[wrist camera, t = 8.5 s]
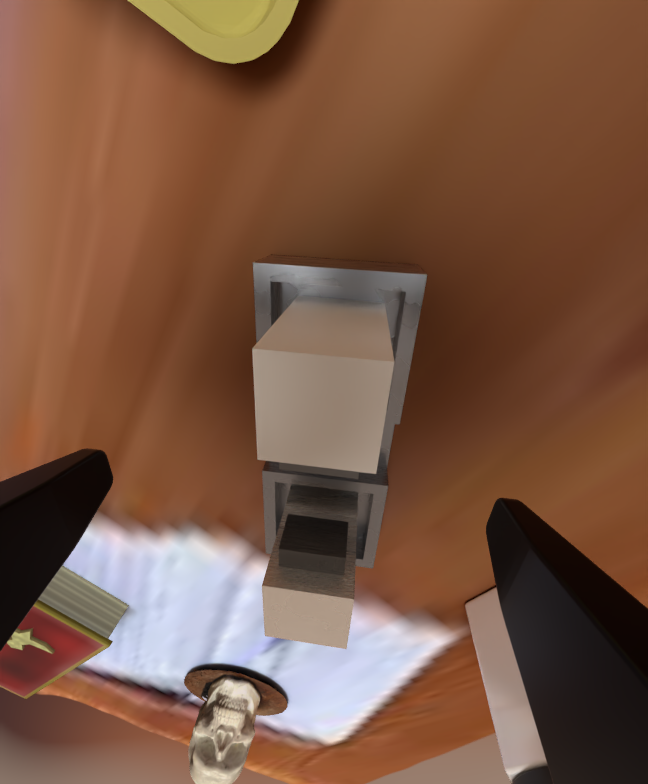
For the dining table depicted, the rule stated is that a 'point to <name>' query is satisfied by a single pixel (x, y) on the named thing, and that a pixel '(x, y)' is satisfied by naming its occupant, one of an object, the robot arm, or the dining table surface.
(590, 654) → the robot arm
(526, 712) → the jar
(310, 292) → the grey holder stand
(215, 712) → the skull
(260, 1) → the plastic component
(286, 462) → the beige rectangular block
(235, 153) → the dining table surface
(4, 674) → the hardcover book
